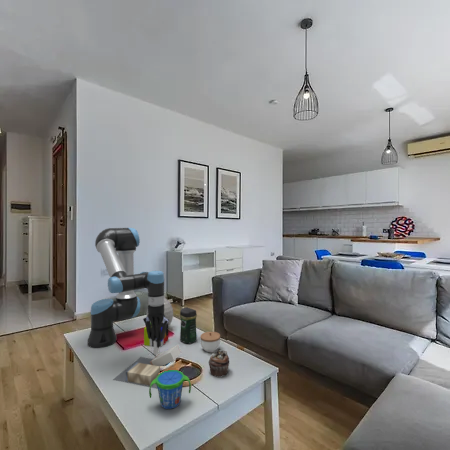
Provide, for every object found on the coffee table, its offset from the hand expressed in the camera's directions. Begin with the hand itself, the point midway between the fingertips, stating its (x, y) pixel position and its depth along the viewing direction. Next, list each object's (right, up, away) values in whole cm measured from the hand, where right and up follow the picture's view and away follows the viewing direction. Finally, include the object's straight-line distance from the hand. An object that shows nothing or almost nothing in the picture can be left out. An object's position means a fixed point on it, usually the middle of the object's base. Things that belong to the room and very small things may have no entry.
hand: (156, 353), depth 132 cm
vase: (-8, -5, +43) cm, 44 cm away
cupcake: (+30, -7, -4) cm, 31 cm away
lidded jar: (+25, -6, +17) cm, 31 cm away
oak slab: (-9, -4, -8) cm, 13 cm away
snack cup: (+12, -7, -26) cm, 30 cm away
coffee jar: (+11, -6, +28) cm, 31 cm away
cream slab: (0, -4, 0) cm, 4 cm away
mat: (-1, -6, -5) cm, 8 cm away
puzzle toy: (-6, -6, +25) cm, 27 cm away
